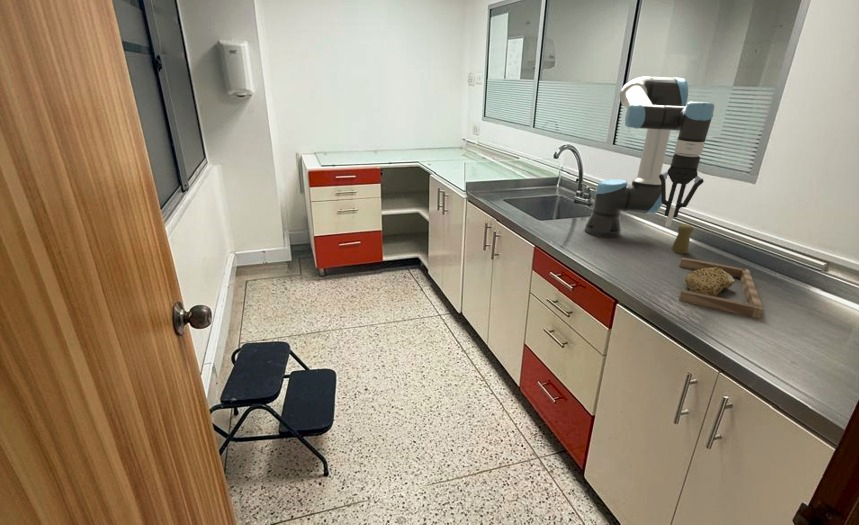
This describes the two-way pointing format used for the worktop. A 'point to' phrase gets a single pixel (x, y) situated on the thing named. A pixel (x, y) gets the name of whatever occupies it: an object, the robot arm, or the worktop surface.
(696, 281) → the sponge
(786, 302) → the worktop surface
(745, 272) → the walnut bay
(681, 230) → the olive waisted cylinder
